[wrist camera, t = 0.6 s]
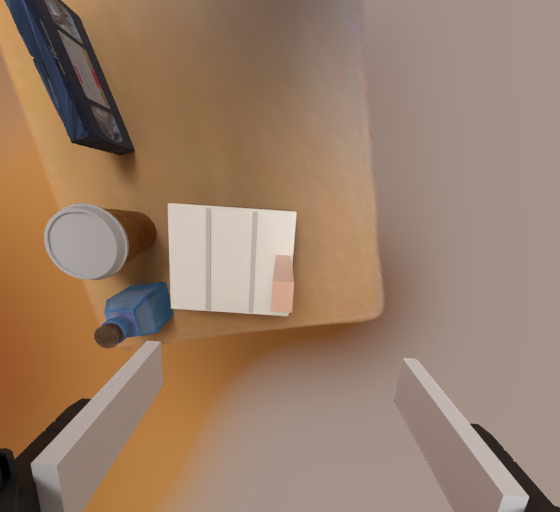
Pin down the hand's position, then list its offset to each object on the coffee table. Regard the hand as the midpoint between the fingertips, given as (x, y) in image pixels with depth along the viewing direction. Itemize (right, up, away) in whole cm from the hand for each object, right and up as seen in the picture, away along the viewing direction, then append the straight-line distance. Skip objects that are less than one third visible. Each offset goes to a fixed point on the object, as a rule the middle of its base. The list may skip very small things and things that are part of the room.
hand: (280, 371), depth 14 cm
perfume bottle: (-22, -1, +31) cm, 38 cm away
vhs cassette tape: (-26, +30, +24) cm, 47 cm away
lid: (-7, +6, +22) cm, 23 cm away
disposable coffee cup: (-23, +10, +28) cm, 38 cm away
